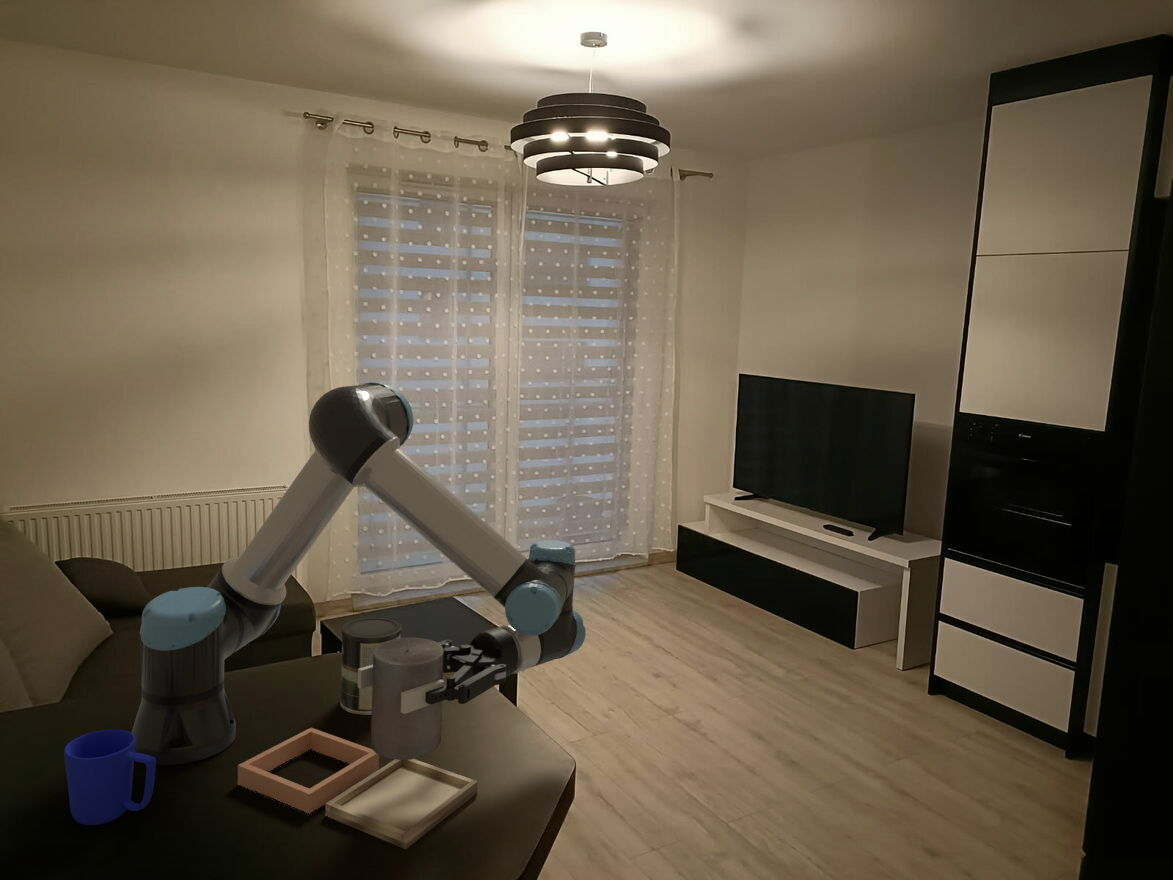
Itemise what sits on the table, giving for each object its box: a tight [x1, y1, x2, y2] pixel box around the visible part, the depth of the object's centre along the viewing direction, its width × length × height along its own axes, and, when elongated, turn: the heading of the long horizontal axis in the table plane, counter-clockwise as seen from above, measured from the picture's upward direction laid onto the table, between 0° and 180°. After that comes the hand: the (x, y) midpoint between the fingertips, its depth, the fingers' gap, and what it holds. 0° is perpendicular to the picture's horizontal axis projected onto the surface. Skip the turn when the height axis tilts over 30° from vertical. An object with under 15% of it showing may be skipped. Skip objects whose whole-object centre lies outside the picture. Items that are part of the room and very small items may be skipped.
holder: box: [237, 727, 380, 815], centre depth 123 cm, size 14×14×3 cm
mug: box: [63, 729, 157, 826], centre depth 111 cm, size 8×12×10 cm
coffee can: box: [339, 616, 403, 716], centre depth 148 cm, size 10×10×14 cm
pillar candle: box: [370, 637, 444, 760], centre depth 116 cm, size 10×10×15 cm
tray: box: [324, 758, 479, 850], centre depth 118 cm, size 14×16×2 cm
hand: (380, 690), depth 112 cm, fingers closed on pillar candle, 9 cm apart
